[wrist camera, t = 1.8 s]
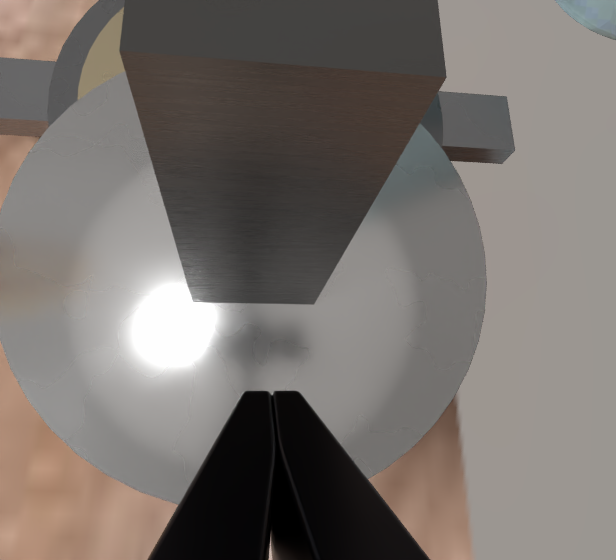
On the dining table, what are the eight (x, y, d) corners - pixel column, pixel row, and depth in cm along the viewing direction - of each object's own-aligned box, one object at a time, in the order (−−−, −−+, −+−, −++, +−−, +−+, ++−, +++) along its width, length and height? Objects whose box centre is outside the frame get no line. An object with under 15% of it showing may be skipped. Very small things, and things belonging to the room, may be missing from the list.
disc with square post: (502, 499, 15) (1069, 619, 5) (-40, 518, 13) (-1015, 788, 3) (451, 79, 19) (693, -324, 9) (39, 45, 17) (-234, -515, 7)
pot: (499, 316, 20) (543, 295, 18) (-37, 307, 18) (-88, 281, 15) (462, 29, 25) (491, -25, 22) (23, -13, 22) (-9, -81, 19)
